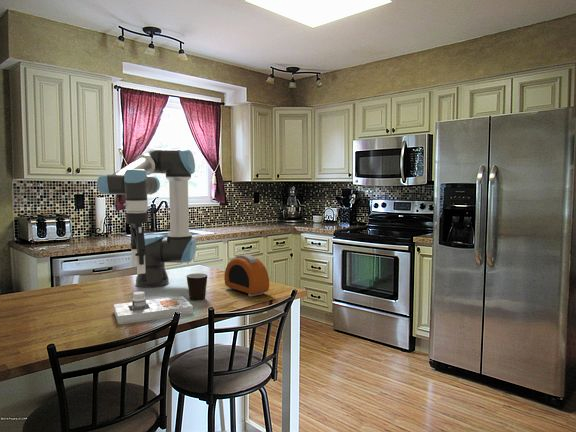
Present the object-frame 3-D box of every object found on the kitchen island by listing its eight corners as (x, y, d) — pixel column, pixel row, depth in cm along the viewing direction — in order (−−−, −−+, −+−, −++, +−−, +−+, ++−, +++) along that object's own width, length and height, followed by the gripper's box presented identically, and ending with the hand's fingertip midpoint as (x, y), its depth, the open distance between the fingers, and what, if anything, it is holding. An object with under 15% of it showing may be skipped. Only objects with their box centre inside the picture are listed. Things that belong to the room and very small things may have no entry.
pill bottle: (134, 313, 159) (134, 291, 158) (147, 312, 159) (147, 291, 158) (131, 317, 154) (130, 294, 153) (144, 316, 154) (143, 294, 154)
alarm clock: (223, 288, 197) (223, 252, 195) (239, 285, 203) (239, 250, 201) (253, 298, 179) (253, 259, 178) (270, 295, 185) (270, 257, 184)
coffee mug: (202, 302, 173) (202, 278, 172) (183, 301, 175) (182, 277, 174) (213, 295, 185) (213, 272, 184) (195, 293, 186) (194, 271, 185)
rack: (113, 312, 160) (113, 303, 159) (182, 303, 172) (182, 295, 171) (118, 324, 146) (118, 315, 145) (193, 314, 157) (193, 305, 157)
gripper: (121, 209, 163) (123, 264, 165) (130, 215, 141) (132, 278, 142) (142, 209, 166) (143, 262, 168) (153, 214, 144) (155, 275, 146)
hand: (138, 269), depth 155 cm, fingers open, 13 cm apart
